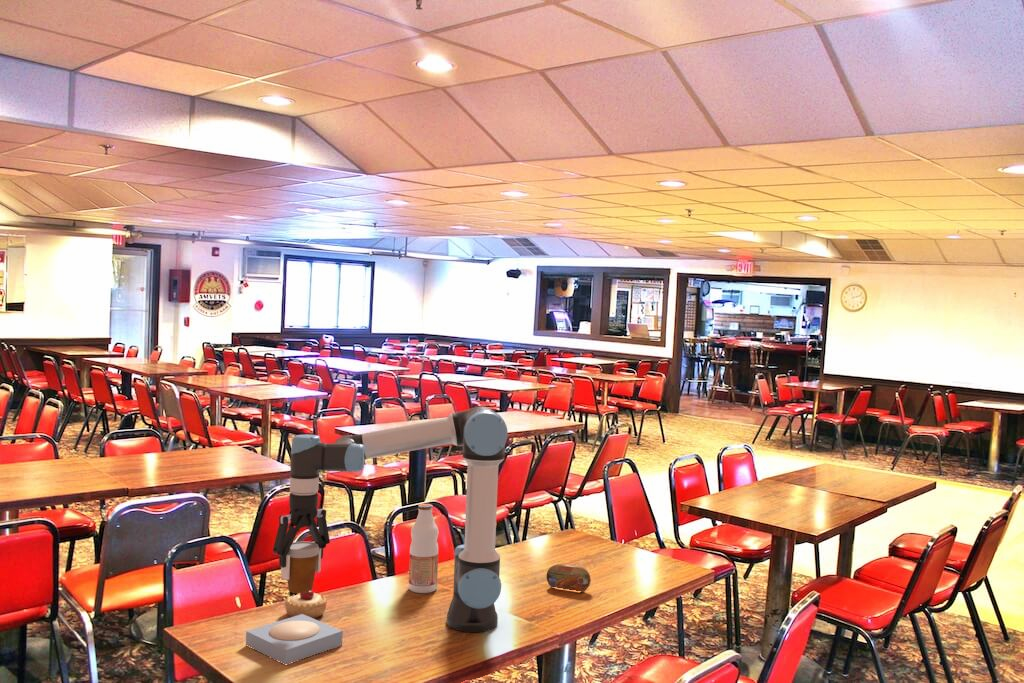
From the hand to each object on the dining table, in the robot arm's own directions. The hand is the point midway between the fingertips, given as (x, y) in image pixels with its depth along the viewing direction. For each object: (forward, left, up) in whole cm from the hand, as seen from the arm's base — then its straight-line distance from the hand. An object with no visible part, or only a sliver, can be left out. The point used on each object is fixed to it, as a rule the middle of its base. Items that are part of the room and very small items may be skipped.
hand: (300, 574), depth 217 cm
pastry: (+17, -15, -19) cm, 29 cm away
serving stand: (0, +2, -19) cm, 19 cm away
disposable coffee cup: (0, 0, -4) cm, 4 cm away
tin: (-26, -89, -19) cm, 95 cm away
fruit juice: (+9, -55, -19) cm, 59 cm away
